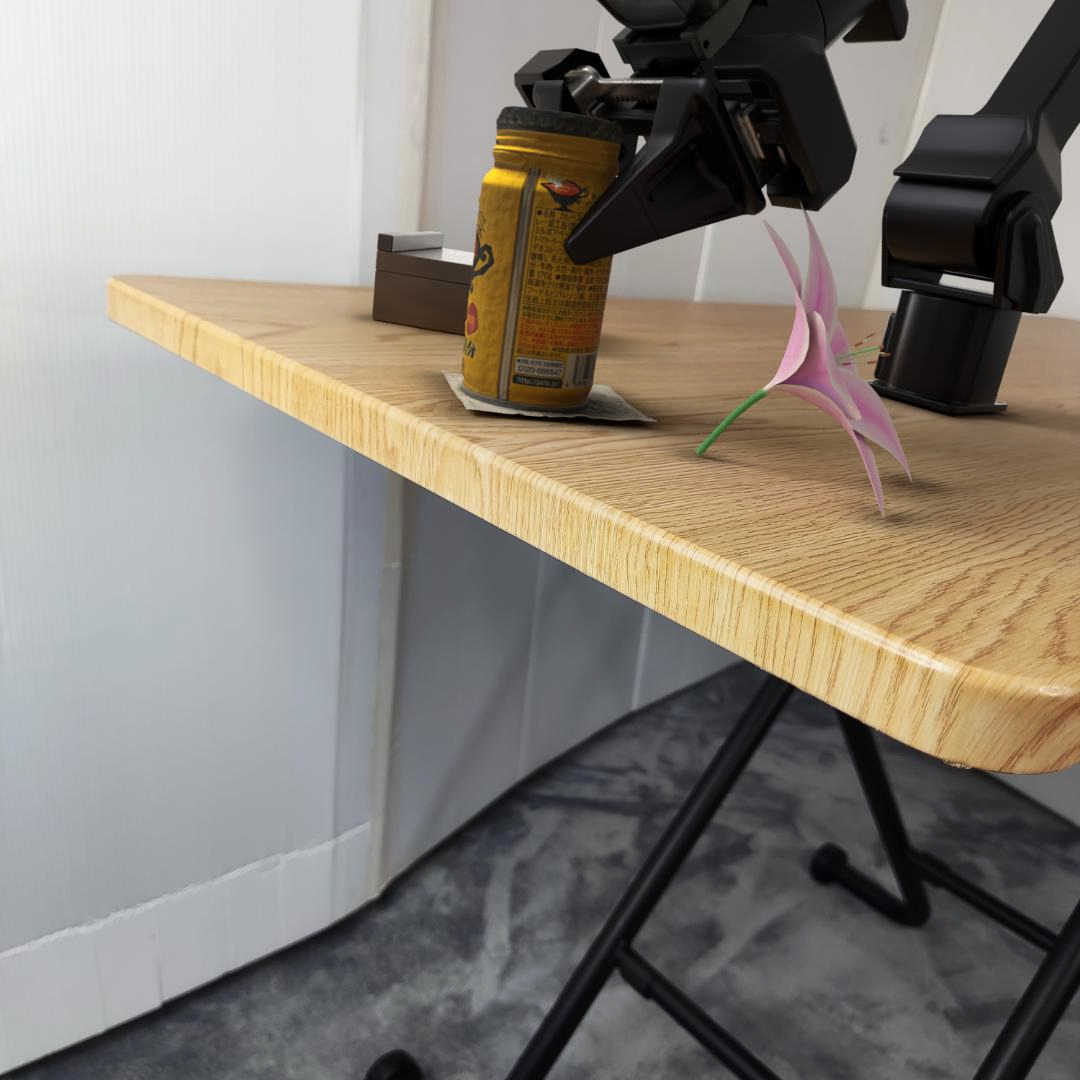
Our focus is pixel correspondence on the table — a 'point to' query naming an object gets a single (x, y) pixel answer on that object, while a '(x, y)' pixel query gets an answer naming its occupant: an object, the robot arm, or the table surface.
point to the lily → (826, 364)
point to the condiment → (539, 272)
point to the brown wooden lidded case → (421, 282)
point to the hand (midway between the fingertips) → (530, 246)
